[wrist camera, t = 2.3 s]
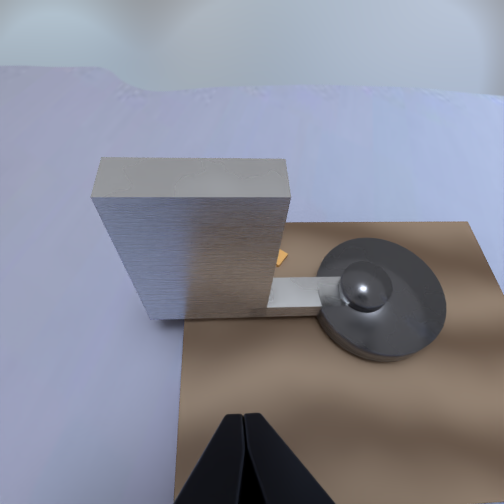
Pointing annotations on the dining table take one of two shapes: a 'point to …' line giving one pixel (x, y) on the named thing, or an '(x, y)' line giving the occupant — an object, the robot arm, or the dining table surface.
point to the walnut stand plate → (363, 381)
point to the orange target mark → (281, 257)
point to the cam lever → (257, 255)
